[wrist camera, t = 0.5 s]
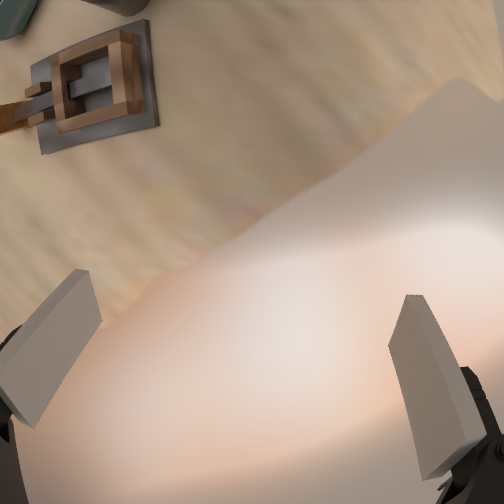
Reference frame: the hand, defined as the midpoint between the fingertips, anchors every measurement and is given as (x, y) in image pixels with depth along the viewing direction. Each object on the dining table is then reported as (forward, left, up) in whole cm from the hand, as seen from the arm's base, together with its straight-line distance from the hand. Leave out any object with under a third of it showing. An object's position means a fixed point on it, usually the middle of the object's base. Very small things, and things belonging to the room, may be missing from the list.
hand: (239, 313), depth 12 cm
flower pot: (-32, -35, -27) cm, 54 cm away
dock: (-14, -22, -26) cm, 37 cm away
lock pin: (-14, -26, -26) cm, 39 cm away
